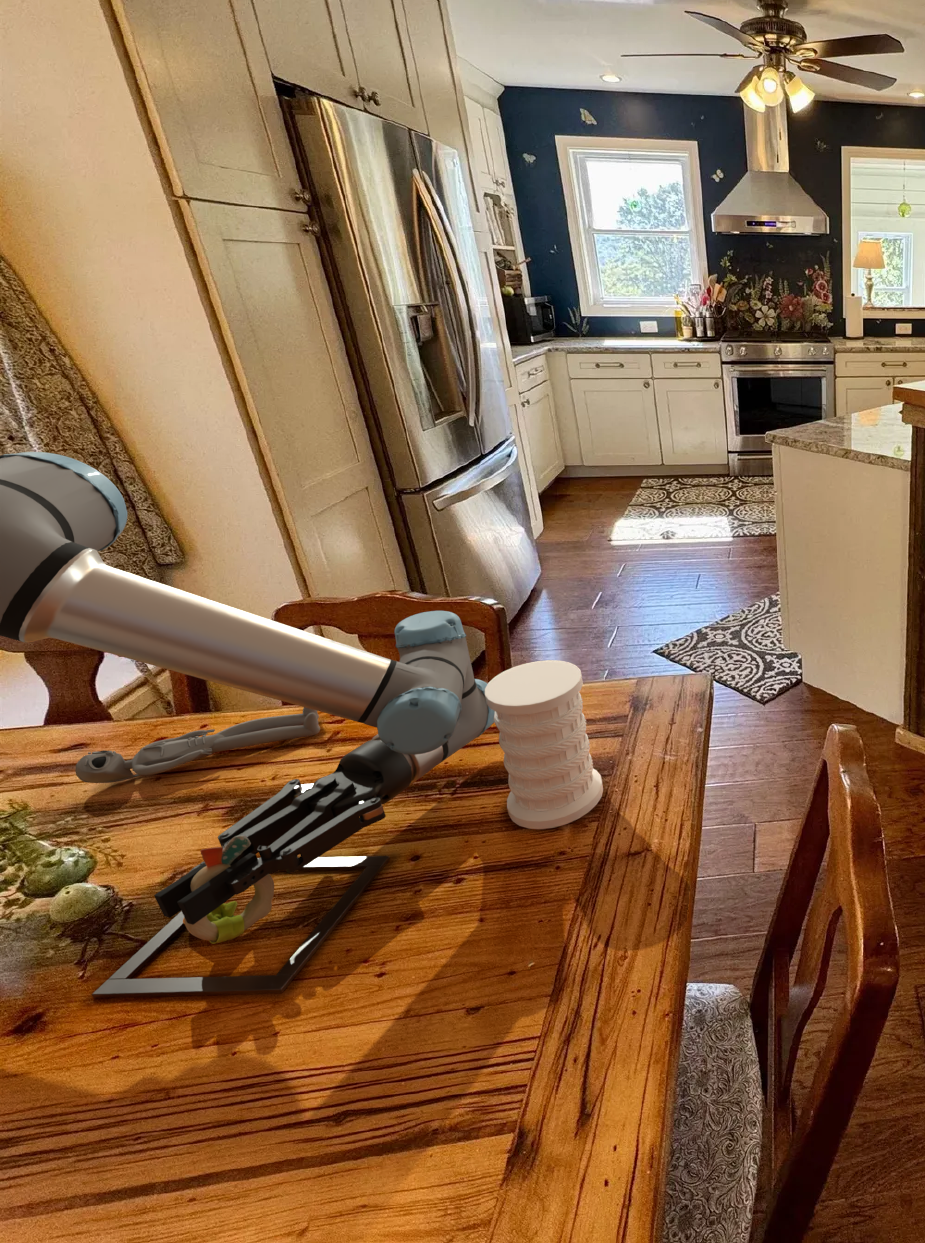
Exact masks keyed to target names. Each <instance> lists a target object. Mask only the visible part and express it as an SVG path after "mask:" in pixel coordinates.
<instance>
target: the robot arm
mask: <svg viewBox="0 0 925 1243" xmlns="http://www.w3.org/2000/svg"><path fill="white" fill-rule="evenodd" d="M127 521H128V509H127V505H126V502H125V498H124V497H123V495H122V493H121V491H120V490H119V489H118V488H117V485H115V484H114V483H113V482H112V481H111V480H110V479H109V478H108V477H107V476H106V475H104V474H103V473H101V471H99V470H97V469H96V468H94V467H92V466H91V465H89V464H86V463H84V462H83V461H80V460H77V459H76V458H72V457H70V456H66V455H62V454H57V453H52V452H45V451H44V452H43V451H23V452H17V453H5V454H1V455H0V637H4V638H7V639H11V640H15V641H18V642H22V643H26V644H29V643H33V642H39V641H42V640H46V639H57V640H60V641H63V642H68V643H71V644H73V645H74V644H75V645H78V646H81V647H85V648H89V649H92V650H95V651H100V652H103V653H106V654H111V655H114V656H118V657H121V658H125V659H129V660H131V661H134V662H135V661H136V662H140V663H143V664H147V665H150V666H153V667H157V668H161V669H165V670H169V671H172V672H174V673H175V672H176V673H180V674H183V675H186V676H190V677H193V678H196V679H197V678H198V679H201V680H205V681H209V682H211V683H215V684H218V685H222V686H226V687H230V688H233V689H237V690H239V691H240V690H241V691H244V692H247V693H251V694H254V695H255V694H256V695H259V696H262V697H265V698H269V699H273V700H278V701H280V702H284V703H288V704H291V705H295V706H298V707H302V708H304V707H306V708H309V709H313V710H316V711H317V712H320V713H323V714H328V715H330V716H331V715H332V716H335V717H339V718H341V719H345V720H349V721H353V722H357V723H359V724H364V725H365V726H370V727H374V728H376V729H377V734H376V735H374V736H373V737H372V738H371V740H367V741H365V742H364V743H362V744H360V745H359V746H357V747H356V748H354V749H352V750H351V751H349V752H348V753H346V754H345V755H343V756H342V757H341V759H340V760H339V763H338V765H337V767H336V768H335V770H334V772H331V773H330V774H328V775H325V776H322V777H319V778H318V779H317V780H315V781H314V782H313V783H304V784H302V783H301V781H300V779H299V778H294V779H291V780H289V781H288V782H287V783H285V785H284V786H283V787H282V788H281V789H280V791H279V792H277V793H275V795H273V796H272V797H270V798H269V799H267V800H266V801H265V802H263V803H262V804H260V805H259V806H258V807H256V808H255V809H254V810H252V811H251V812H249V813H248V814H247V815H245V816H244V817H242V818H240V819H239V820H238V821H237V822H235V823H234V824H233V825H232V826H230V827H228V828H226V829H225V830H224V831H223V832H221V833H220V834H218V836H217V840H218V842H219V845H220V847H223V849H224V848H225V846H226V845H227V844H228V843H229V842H230V840H231V839H232V838H233V837H235V836H246V837H247V838H248V839H249V841H250V843H251V844H250V846H249V847H248V848H247V849H245V850H244V851H243V852H242V853H241V855H239V856H238V857H236V858H235V859H234V860H233V861H232V863H231V864H230V867H228V868H227V869H226V870H224V871H223V872H221V873H220V874H218V875H217V876H215V877H214V878H212V879H211V880H209V881H208V882H206V883H205V884H203V885H202V886H200V887H199V888H197V889H196V890H194V891H193V892H192V891H191V881H192V879H193V877H194V876H195V875H196V874H197V873H198V872H199V871H200V870H201V869H202V868H204V867H206V864H205V862H204V860H203V861H201V862H200V863H199V864H197V865H196V866H194V867H192V868H191V869H190V871H189V872H187V873H185V874H184V875H183V876H181V877H180V878H178V879H177V880H175V881H174V882H172V883H171V884H169V885H167V886H166V887H164V888H163V889H161V890H160V891H158V892H156V893H155V894H154V895H153V896H154V899H155V901H156V903H157V905H158V907H159V908H160V911H161V912H162V914H163V917H165V918H167V919H168V918H169V919H171V918H173V917H175V916H176V915H178V914H179V913H180V912H181V911H182V913H183V915H184V917H185V919H186V921H187V923H189V924H192V925H194V924H195V923H197V922H198V921H199V920H201V919H202V918H204V917H205V916H206V915H208V914H209V913H211V912H212V911H213V910H215V909H216V908H218V907H219V906H220V905H222V904H223V903H224V904H226V903H227V901H229V900H230V899H232V898H233V897H234V896H238V895H239V894H242V893H244V892H245V891H246V890H248V889H249V888H250V887H252V886H253V884H255V883H256V882H258V881H259V880H260V879H262V878H263V877H265V876H266V875H267V874H270V875H274V874H276V873H278V872H280V871H279V870H286V871H285V872H286V873H287V874H293V873H296V872H298V870H299V869H301V868H302V867H304V866H305V865H307V864H309V863H310V862H312V861H313V860H315V859H316V858H318V857H322V856H323V855H324V854H326V853H327V852H329V851H330V850H331V849H333V848H335V847H336V846H338V845H339V844H341V843H342V842H344V841H346V840H348V839H349V838H350V837H352V836H353V835H355V834H357V833H358V832H360V831H361V830H363V829H364V828H366V827H369V826H371V825H374V824H375V823H377V822H381V821H382V820H384V819H385V818H386V813H385V810H384V805H385V804H387V803H389V802H390V801H392V799H395V797H397V796H398V795H400V794H401V793H402V792H404V791H405V790H406V789H407V788H409V787H410V785H411V784H414V783H415V782H417V781H418V780H419V779H421V778H422V777H423V776H424V775H425V776H426V775H427V774H428V773H429V772H430V771H432V770H433V769H435V768H436V767H437V766H438V765H439V764H441V763H443V762H444V761H445V760H447V759H448V758H450V757H451V756H452V755H454V754H456V753H457V752H458V751H460V750H461V749H463V747H465V746H467V745H468V744H470V743H471V742H472V741H474V740H476V739H477V738H479V737H480V736H482V735H483V734H484V732H486V731H487V730H488V729H489V728H490V727H491V726H492V725H493V724H495V722H494V714H495V711H494V710H492V709H490V707H489V706H488V705H487V702H486V698H485V688H486V686H487V684H488V682H486V681H484V680H481V679H478V678H475V675H474V671H473V667H472V666H473V665H472V661H471V657H470V651H469V648H468V642H467V638H466V637H467V634H466V632H465V630H464V627H463V624H462V619H461V618H460V616H458V614H456V613H454V612H452V611H447V610H431V611H424V612H419V613H416V614H413V615H410V616H408V617H405V618H403V619H402V620H400V621H399V622H398V623H397V624H396V625H395V628H394V636H395V645H394V646H395V648H396V649H397V651H398V654H399V661H397V660H393V659H391V658H387V657H384V656H381V655H378V654H375V653H372V652H369V651H366V650H363V649H360V648H357V647H354V646H351V645H348V644H345V643H342V642H338V641H337V640H336V641H335V640H333V639H329V638H327V637H324V636H320V635H317V634H314V633H311V632H309V631H306V630H302V629H299V628H296V627H294V626H291V625H287V624H284V623H281V622H279V621H276V620H273V619H269V618H267V617H263V616H261V615H257V614H254V613H252V612H248V611H245V610H242V609H239V608H238V607H237V608H236V607H233V606H230V605H227V604H224V603H222V602H218V601H215V600H213V599H209V598H207V597H203V596H200V595H198V594H194V593H191V592H189V591H185V590H182V589H179V588H177V587H173V586H170V585H167V584H164V583H161V582H158V581H155V580H152V579H149V578H146V577H144V576H140V575H137V574H134V573H131V572H129V571H125V570H122V569H119V568H116V567H114V566H111V565H107V564H106V563H105V562H104V561H103V558H102V557H101V555H100V553H99V552H102V551H103V550H106V549H107V548H109V547H110V546H112V545H113V544H114V543H115V542H116V540H117V538H118V537H119V536H121V534H122V533H123V531H124V529H125V528H126V526H127ZM257 854H259V857H258V856H257ZM299 855H300V856H299ZM298 857H299V858H298ZM257 858H259V859H257Z"/></svg>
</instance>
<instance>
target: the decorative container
mask: <svg viewBox="0 0 925 1243" xmlns="http://www.w3.org/2000/svg"><path fill="white" fill-rule="evenodd" d="M583 685H584V680H583V674H582V671H581V669H580V668H579V666H577V665H576V664H574V663H572V662H568V661H564V660H556V659H548V660H547V659H546V660H536V661H532V662H526V663H523V664H519V665H515V666H513V667H511V668H508V669H506V670H504V671H502V672H500V673H498V674H497V675H496V676H494V677H493V678H492V679H491V680H490V681H489V682H487V686H486V688H485V698H486V702H487V705H488V706H489V707H490V709H492V710H494V711H495V714H494V725H495V727H496V728H497V729H498V731H499V733H498V734H499V735H498V743H499V747H500V748H501V750H502V752H503V766H504V769H505V770H506V772H507V773H508V781H507V784H508V788H509V790H510V792H509V794H508V796H507V799H506V809H507V814H508V816H509V818H510V819H511V821H512V822H513V823H515V824H516V825H517V826H518V827H522V828H525V829H529V830H530V829H532V830H546V829H547V830H548V829H553V828H557V827H561V826H565V825H567V824H571V823H572V822H575V821H576V820H579V819H580V818H582V817H584V816H585V815H587V814H588V813H590V812H591V811H592V810H593V809H594V808H595V807H596V806H597V805H598V803H599V801H600V800H601V799H602V797H603V792H604V785H603V779H602V775H601V774H600V773H599V771H598V770H597V769H595V768H594V762H593V761H594V760H593V759H592V758H593V757H592V755H591V753H590V750H591V746H590V745H591V743H590V742H591V741H590V739H589V737H588V734H587V733H586V731H587V724H588V723H587V719H586V717H585V714H584V713H583V709H584V705H583V704H584V701H583V700H584V699H583V698H582V695H581V693H580V692H581V690H582V688H583Z"/></svg>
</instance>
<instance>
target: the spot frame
mask: <svg viewBox="0 0 925 1243" xmlns="http://www.w3.org/2000/svg"><path fill="white" fill-rule="evenodd" d="M299 857H300V856H298V858H299ZM259 858H260V857H257V859H259ZM389 861H391V856H390V855H374V856H373V855H366V856H365V855H364V856H361V855H360V856H319V857H318V858H316V859H315V860H313V861H312V862H310V863H309V864H307V865H305V866H304V867H302V868H301V869H299V870H298V871H345V870H346V871H347V870H348V871H349V870H352V871H353V870H363V871H362V872H360V874H359V875H358V876H357V878H356V879H355V880H354V881H353V882H352V884H351V885H350V886H349V887H348V889H347V890H345V892H344V893H343V894H342V895H341V897H340V898H339V900H338V901H337V902H336V903H335V904H334V905H333V906H332V907H331V909H329V911H328V912H327V913H326V914H325V916H324V917H323V918H322V920H321V921H320V922H319V923H318V924H317V926H316V927H315V928H314V929H313V930H312V931H311V933H310V934H309V935H308V936H307V937H306V939H305V940H304V941H303V942H302V943H301V945H300V946H299V947H298V948H297V949H296V951H294V953H293V954H292V956H291V957H290V958H289V959H288V960H287V961H286V963H285V964H284V965H283V966H282V968H280V970H279V971H278V972H277V973H276V974H269V975H267V974H266V975H231V976H227V975H226V976H189V977H188V976H187V977H153V978H152V977H150V978H149V977H148V978H146V977H145V978H133V977H134V976H135V975H136V974H138V972H139V971H140V970H141V969H142V968H144V967H145V965H147V964H148V962H150V961H151V960H152V959H153V958H154V957H155V956H156V955H157V954H158V953H159V952H160V951H161V950H162V949H163V948H165V947H166V945H168V943H170V942H171V941H172V940H173V939H174V938H175V937H176V936H177V935H178V934H179V933H180V932H181V931H182V930H184V928H186V926H185V924H184V923H183V918H184V915H183V913H182V911H180V912H178V913H177V914H176V915H174V916H173V917H172V919H171V920H170V921H169V922H168V923H167V924H165V925H164V927H162V928H161V929H160V930H159V931H158V932H157V933H156V934H155V935H154V936H153V937H152V938H151V939H150V940H148V941H147V942H146V943H145V944H144V945H143V946H141V948H140V949H139V950H137V951H136V953H134V954H133V955H132V956H131V957H130V958H129V959H128V960H127V961H126V962H125V963H124V964H123V965H121V966H120V968H119V969H117V970H116V971H115V972H114V973H112V975H110V976H109V977H108V979H106V980H105V982H103V983H102V984H101V985H100V986H99V987H98V988H97V989H96V990H94V991H93V992H92V994H91V996H92V998H94V999H96V998H97V999H102V998H103V999H104V998H105V999H106V998H138V997H141V998H142V997H144V998H145V997H176V996H216V995H217V996H219V995H249V994H251V995H253V994H254V995H255V994H257V995H258V994H283V992H284V991H286V989H287V988H288V986H289V985H290V984H291V983H292V981H293V980H294V979H295V978H296V977H297V975H298V974H299V973H300V972H301V970H302V969H303V968H304V967H305V966H306V965H307V963H308V962H309V961H310V960H311V958H312V957H313V956H314V954H315V953H316V952H317V951H318V949H319V948H320V947H321V946H322V945H323V943H325V940H327V938H328V937H329V936H330V935H331V934H332V932H333V931H334V930H335V928H336V927H337V926H338V925H339V924H340V922H341V921H342V920H343V919H344V917H345V916H346V915H347V914H348V912H349V911H350V910H351V908H353V906H354V905H355V904H356V903H357V901H358V900H359V899H360V898H361V897H362V895H363V894H364V893H365V892H366V890H367V889H368V887H369V886H370V885H371V884H372V882H373V881H374V880H375V879H376V877H377V876H378V875H379V874H380V873H381V871H383V869H384V868H385V866H386V865H387V864H388V863H389ZM298 871H297V872H298ZM278 872H287V871H286V870H279V871H278Z"/></svg>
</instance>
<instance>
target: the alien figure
mask: <svg viewBox="0 0 925 1243" xmlns="http://www.w3.org/2000/svg"><path fill="white" fill-rule="evenodd" d="M319 718H320V716H319V713H318V711H316V710H313V709H309V708H306V707H302V713H295V714H284V715H275V716H267V717H260V718H255V719H252V720H251V719H250V720H246V721H243V722H241V723H237V724H234V725H232V726H229V727H227V728H224V729H222V730H221V731H218V732H217V733H215V731H216V730H215V728H214V729H213V728H212V729H199V730H193V731H189V732H186V733H185V734H182V735H180V736H177V737H171V738H166V739H162V740H161V739H160V740H157V741H154V742H151V743H148V744H146V745H144V746H143V747H141V749H139V751H137V753H135V755H134V756H133V757H132V759H128V760H125V759H124V757H123V756H122V754H121V753H118V752H117V751H115V750H113V751H112V750H106V749H105V750H97V751H96V750H95V751H92V752H91V751H88V752H87V754H86V755H85V754H84V755H83V756H82V757H81V758H80V759H79V760H78V761H77V762H76V764H75V768H74V770H75V771H74V772H75V776H76V777H77V778H78V779H79V780H80V781H81V782H84V783H88V784H111V783H118V782H122V781H126V780H130V779H135V778H137V777H140V776H141V777H142V776H146V777H147V776H154V775H157V774H161V773H164V772H167V771H170V770H172V769H175V768H178V767H181V766H183V765H185V764H188V763H191V762H194V761H197V760H200V759H203V758H205V757H208V756H211V755H212V754H215V753H218V752H226V751H231V750H237V749H242V748H247V747H253V746H259V745H264V744H269V743H275V742H281V741H288V740H293V739H295V740H296V739H300V738H309V737H313V736H315V735H317V734H319V733H320V731H321V727H320V725H319ZM208 733H214V734H209V735H208ZM133 772H134V773H135V774H134V773H133Z"/></svg>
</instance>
